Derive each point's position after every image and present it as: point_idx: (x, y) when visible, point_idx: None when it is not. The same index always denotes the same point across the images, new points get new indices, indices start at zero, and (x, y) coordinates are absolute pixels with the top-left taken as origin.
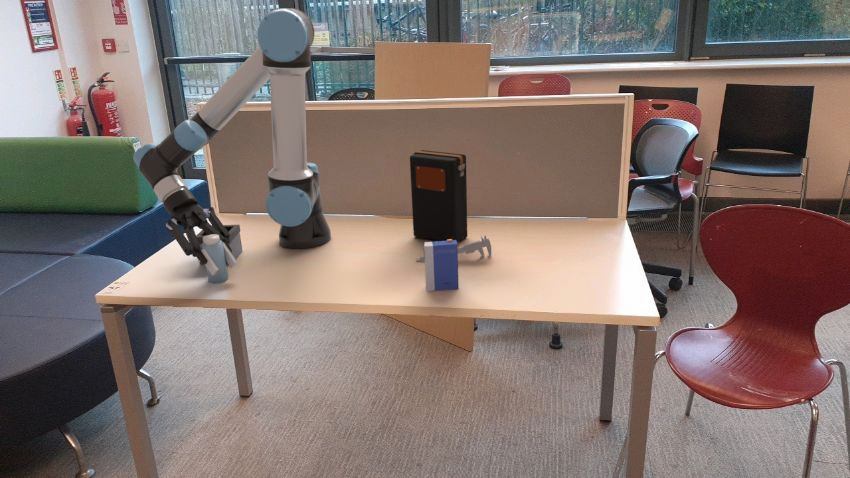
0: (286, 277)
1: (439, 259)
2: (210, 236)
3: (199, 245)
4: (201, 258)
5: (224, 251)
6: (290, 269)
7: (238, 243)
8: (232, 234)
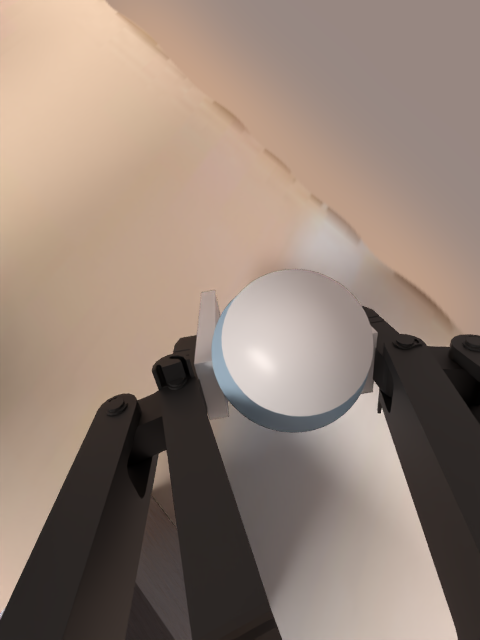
0: (108, 217)
1: None
2: (290, 359)
3: (393, 359)
4: (379, 318)
5: None
6: (57, 259)
7: None
8: (3, 612)
